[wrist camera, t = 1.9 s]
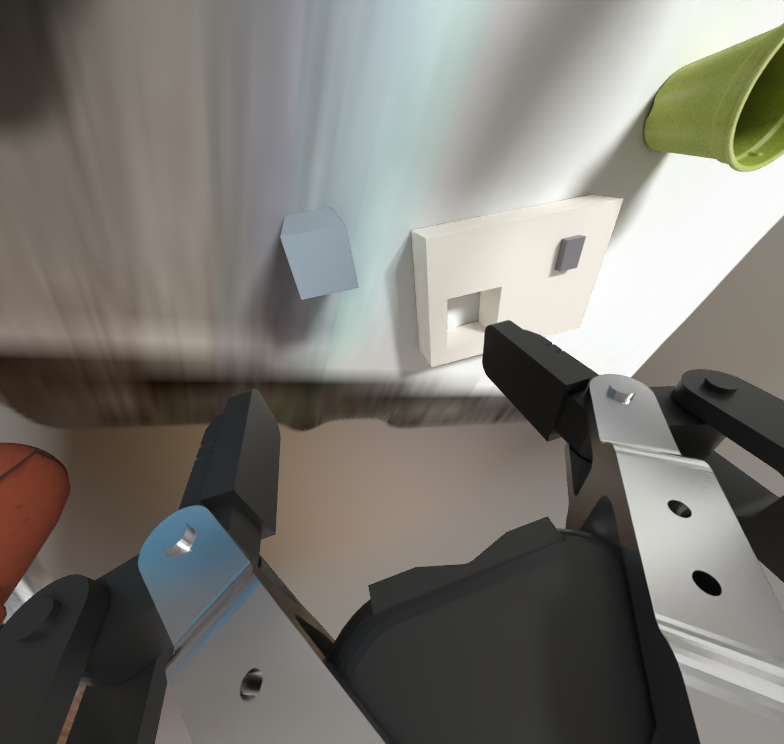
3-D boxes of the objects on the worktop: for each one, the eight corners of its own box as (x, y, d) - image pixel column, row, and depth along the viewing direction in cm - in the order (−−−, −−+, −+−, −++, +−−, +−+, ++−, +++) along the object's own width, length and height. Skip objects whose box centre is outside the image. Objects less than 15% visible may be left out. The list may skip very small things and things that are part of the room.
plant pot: (615, 111, 26) (726, 93, 19) (717, -1, 23) (890, -68, 16) (637, 191, 31) (732, 199, 24) (723, 108, 28) (856, 90, 22)
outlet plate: (411, 229, 27) (429, 240, 23) (589, 194, 30) (631, 199, 26) (419, 349, 36) (433, 371, 32) (557, 314, 38) (585, 330, 35)
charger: (284, 215, 24) (280, 237, 17) (331, 207, 24) (345, 225, 17) (300, 263, 26) (301, 299, 19) (342, 255, 27) (358, 287, 20)
